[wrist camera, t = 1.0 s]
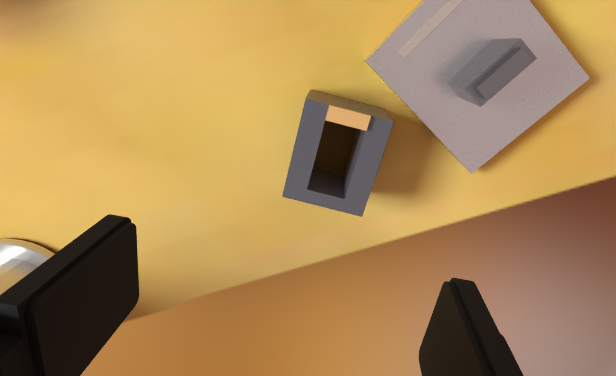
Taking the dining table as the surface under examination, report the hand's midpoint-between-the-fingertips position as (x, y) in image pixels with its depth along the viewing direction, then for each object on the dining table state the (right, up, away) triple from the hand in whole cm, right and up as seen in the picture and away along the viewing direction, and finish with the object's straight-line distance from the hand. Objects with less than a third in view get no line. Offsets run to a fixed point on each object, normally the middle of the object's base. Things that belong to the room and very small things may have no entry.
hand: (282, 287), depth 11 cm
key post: (+13, +12, +16) cm, 24 cm away
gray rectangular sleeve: (+3, +7, +19) cm, 21 cm away
